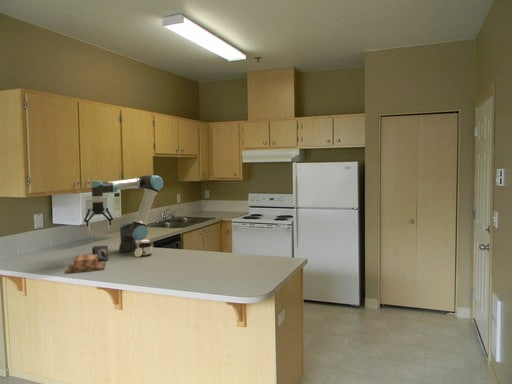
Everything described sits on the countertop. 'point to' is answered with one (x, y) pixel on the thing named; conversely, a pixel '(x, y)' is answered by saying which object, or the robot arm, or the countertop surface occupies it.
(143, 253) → the spread jar
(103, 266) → the tower base
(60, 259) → the countertop surface
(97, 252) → the small box
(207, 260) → the countertop surface
